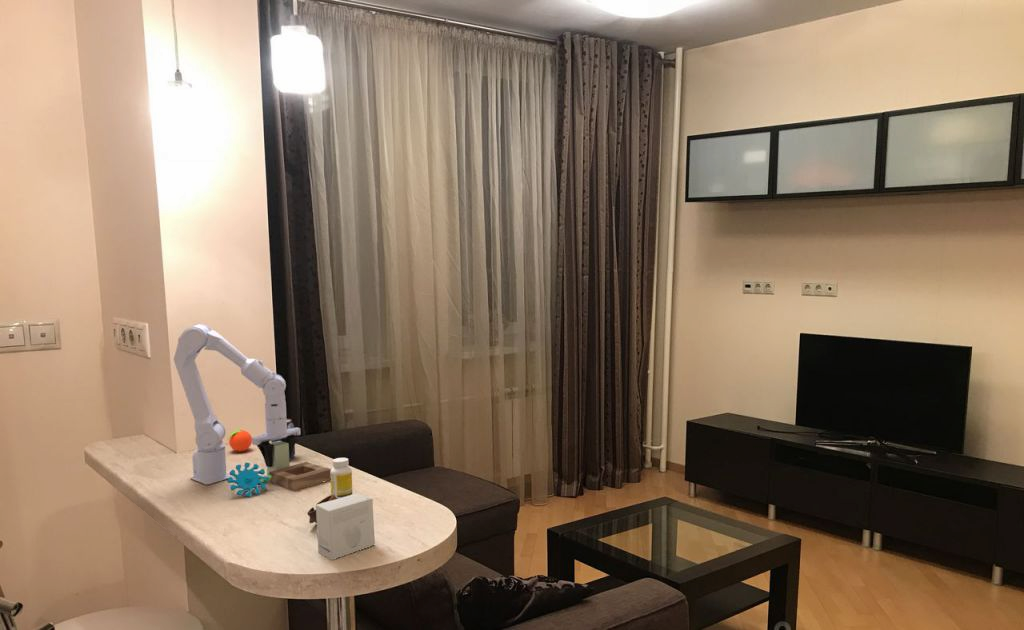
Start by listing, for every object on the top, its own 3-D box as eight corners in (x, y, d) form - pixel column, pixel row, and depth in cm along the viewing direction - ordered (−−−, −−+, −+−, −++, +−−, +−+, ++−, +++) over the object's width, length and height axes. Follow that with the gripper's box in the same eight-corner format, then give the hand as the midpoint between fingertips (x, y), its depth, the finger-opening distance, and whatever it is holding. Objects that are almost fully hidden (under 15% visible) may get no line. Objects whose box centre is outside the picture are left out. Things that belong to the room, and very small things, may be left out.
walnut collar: (269, 482, 195) (269, 471, 195) (306, 471, 204) (306, 461, 204) (294, 490, 188) (293, 480, 187) (331, 479, 197) (331, 469, 197)
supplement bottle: (356, 494, 184) (355, 458, 183) (343, 501, 179) (342, 463, 178) (340, 492, 186) (338, 455, 185) (326, 498, 181) (325, 461, 180)
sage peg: (267, 474, 203) (265, 444, 202) (281, 470, 206) (279, 440, 205) (276, 477, 200) (274, 446, 199) (289, 473, 203) (288, 443, 202)
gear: (228, 495, 180) (228, 461, 186) (225, 506, 184) (224, 472, 190) (273, 493, 185) (271, 460, 191) (268, 504, 189) (266, 471, 195)
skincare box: (360, 537, 155) (358, 491, 154) (375, 546, 151) (374, 498, 150) (316, 551, 148) (314, 503, 147) (331, 560, 143) (329, 511, 143)
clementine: (235, 456, 222) (234, 434, 222) (222, 453, 226) (221, 431, 226) (256, 450, 229) (255, 428, 229) (243, 447, 233) (242, 426, 232)
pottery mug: (341, 539, 156) (321, 508, 155) (315, 549, 161) (295, 520, 160) (371, 508, 166) (352, 479, 165) (346, 519, 171) (327, 491, 170)
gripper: (260, 424, 193) (263, 472, 195) (305, 415, 205) (307, 460, 206) (247, 421, 198) (249, 468, 199) (291, 412, 209) (293, 456, 210)
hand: (278, 464), depth 203 cm, fingers open, 5 cm apart
